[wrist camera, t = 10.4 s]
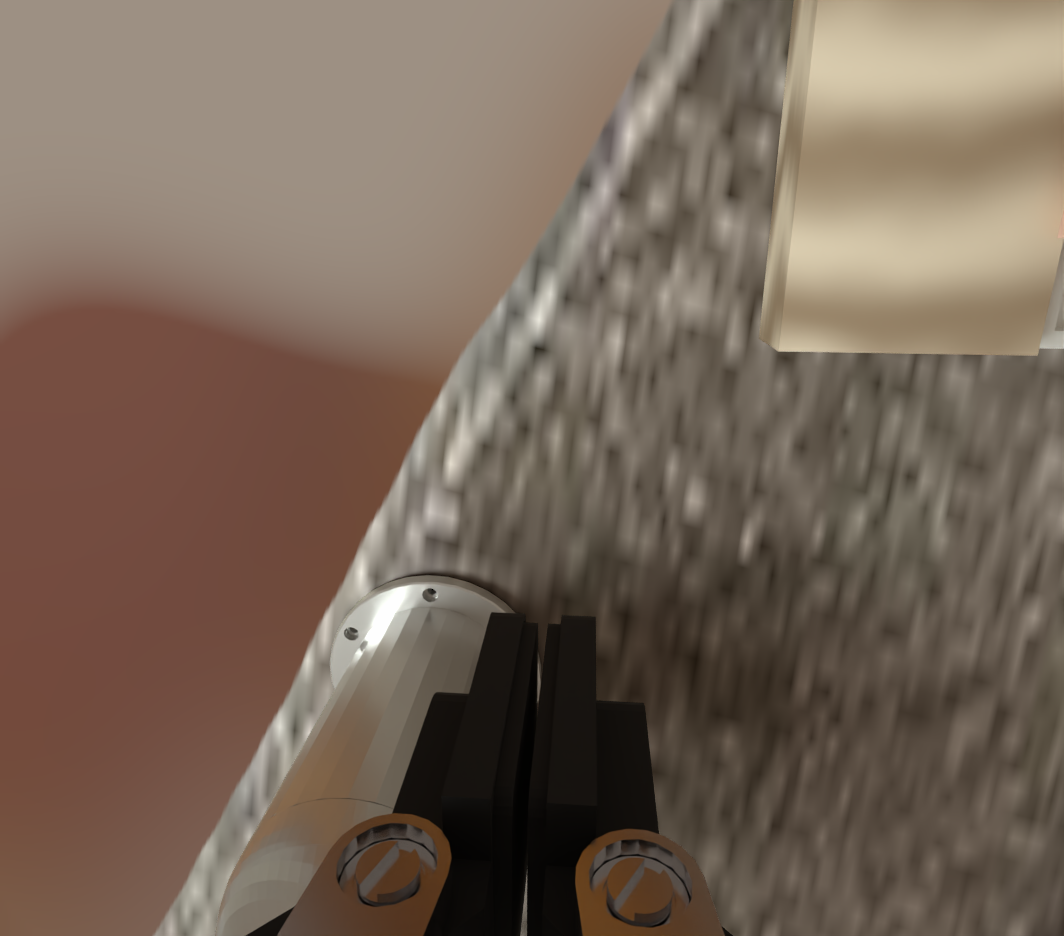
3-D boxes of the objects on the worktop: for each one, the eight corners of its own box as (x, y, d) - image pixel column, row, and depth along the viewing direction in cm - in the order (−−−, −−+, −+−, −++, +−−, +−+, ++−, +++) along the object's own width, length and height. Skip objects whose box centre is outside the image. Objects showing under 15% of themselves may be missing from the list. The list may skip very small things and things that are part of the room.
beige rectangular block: (989, 342, 35) (1037, 355, 31) (759, 338, 36) (778, 351, 32) (1067, -44, 30) (1136, -84, 26) (797, -37, 31) (826, -75, 27)
